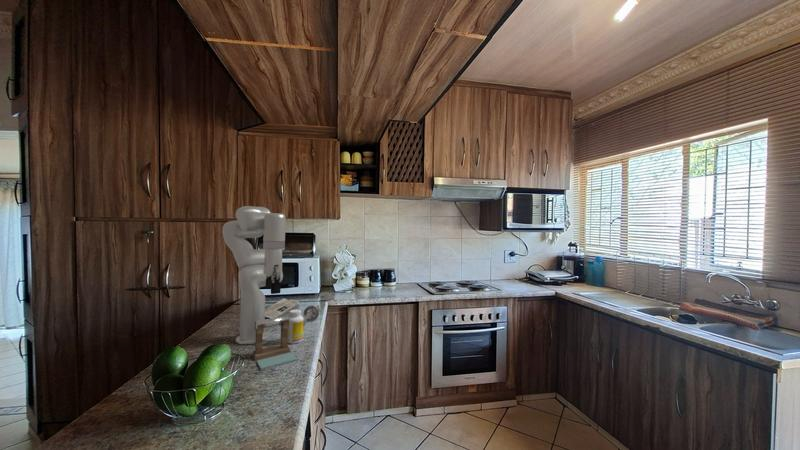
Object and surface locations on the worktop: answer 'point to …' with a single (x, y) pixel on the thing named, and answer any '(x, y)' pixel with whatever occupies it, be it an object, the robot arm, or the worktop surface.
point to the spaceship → (311, 313)
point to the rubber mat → (276, 360)
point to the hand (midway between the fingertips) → (272, 290)
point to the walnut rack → (273, 350)
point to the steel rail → (272, 321)
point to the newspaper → (280, 308)
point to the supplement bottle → (295, 327)
